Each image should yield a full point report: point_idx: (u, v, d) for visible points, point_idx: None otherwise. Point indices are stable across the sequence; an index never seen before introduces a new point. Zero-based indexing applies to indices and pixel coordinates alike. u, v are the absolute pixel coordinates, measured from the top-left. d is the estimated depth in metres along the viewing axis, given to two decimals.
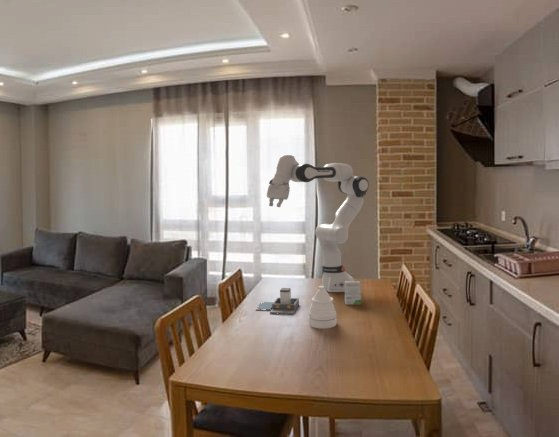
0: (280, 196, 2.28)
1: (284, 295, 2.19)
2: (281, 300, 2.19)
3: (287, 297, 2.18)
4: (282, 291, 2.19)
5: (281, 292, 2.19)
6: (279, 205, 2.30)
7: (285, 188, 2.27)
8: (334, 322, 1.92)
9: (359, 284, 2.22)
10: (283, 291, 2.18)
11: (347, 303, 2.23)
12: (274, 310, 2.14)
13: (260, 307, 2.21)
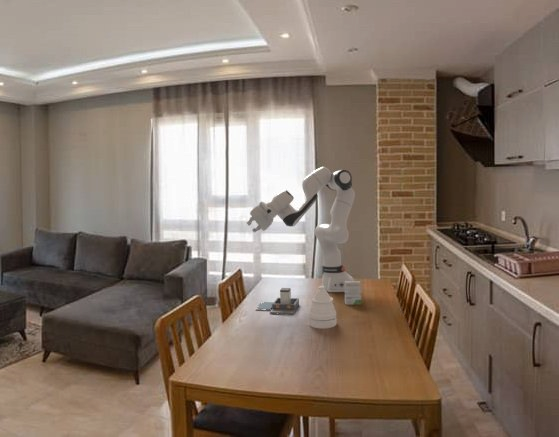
0: (263, 229, 2.43)
1: (284, 295, 2.19)
2: (281, 300, 2.19)
3: (287, 297, 2.18)
4: (282, 291, 2.19)
5: (281, 292, 2.19)
6: None
7: None
8: (334, 322, 1.92)
9: (359, 284, 2.22)
10: (283, 291, 2.18)
11: (347, 303, 2.23)
12: (274, 310, 2.14)
13: (260, 307, 2.21)
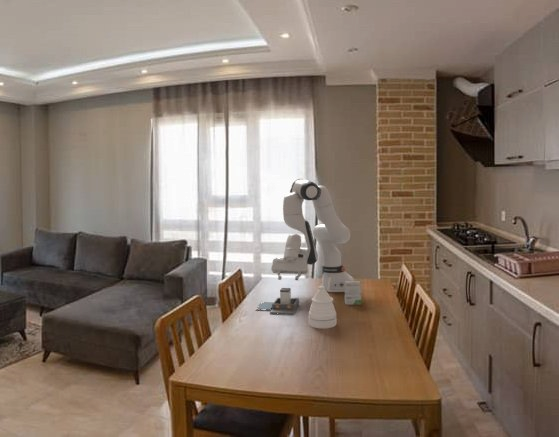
0: None
1: (284, 295, 2.19)
2: (281, 300, 2.19)
3: (287, 297, 2.18)
4: (282, 291, 2.19)
5: (281, 292, 2.19)
6: None
7: None
8: (334, 322, 1.92)
9: (359, 284, 2.22)
10: (283, 291, 2.18)
11: (347, 303, 2.23)
12: (274, 310, 2.14)
13: (260, 307, 2.21)
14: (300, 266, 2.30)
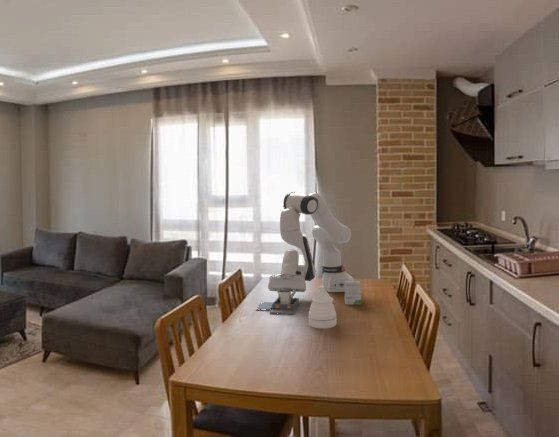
0: None
1: (284, 295, 2.19)
2: (281, 300, 2.19)
3: (287, 297, 2.18)
4: (282, 291, 2.19)
5: (281, 292, 2.19)
6: None
7: None
8: (334, 322, 1.92)
9: (359, 284, 2.22)
10: (283, 291, 2.18)
11: (347, 303, 2.23)
12: (274, 310, 2.14)
13: (260, 307, 2.21)
14: (298, 284, 2.22)
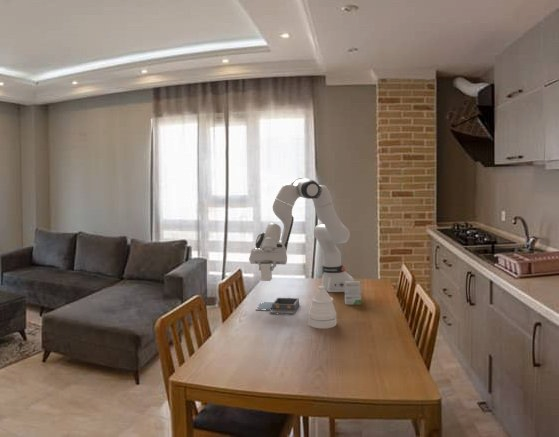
0: None
1: (265, 267, 2.19)
2: (262, 272, 2.19)
3: (267, 269, 2.19)
4: (263, 263, 2.19)
5: (262, 264, 2.19)
6: None
7: None
8: (334, 322, 1.92)
9: (359, 284, 2.22)
10: (264, 263, 2.19)
11: (347, 303, 2.23)
12: (274, 310, 2.14)
13: (260, 307, 2.21)
14: (279, 256, 2.23)
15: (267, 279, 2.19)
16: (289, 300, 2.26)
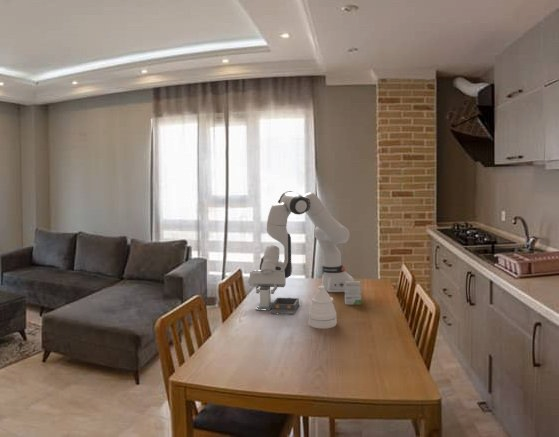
0: None
1: (263, 293, 2.21)
2: (261, 298, 2.22)
3: (266, 295, 2.21)
4: (261, 289, 2.21)
5: (260, 290, 2.21)
6: None
7: None
8: (334, 322, 1.92)
9: (359, 284, 2.22)
10: (262, 289, 2.21)
11: (347, 303, 2.23)
12: (274, 310, 2.14)
13: (260, 307, 2.21)
14: (277, 279, 2.24)
15: (266, 305, 2.21)
16: (289, 300, 2.26)
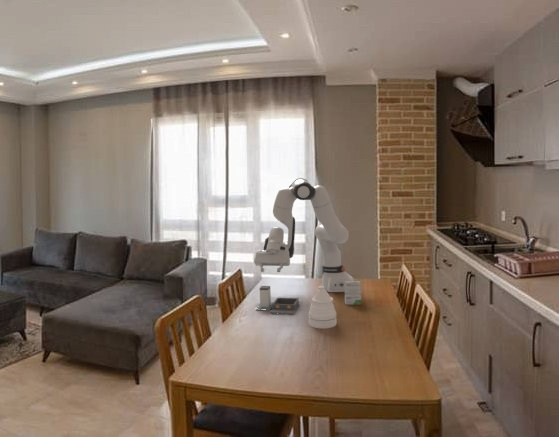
0: None
1: (263, 293, 2.21)
2: (261, 298, 2.22)
3: (266, 295, 2.21)
4: (261, 289, 2.21)
5: (260, 290, 2.21)
6: None
7: None
8: (334, 322, 1.92)
9: (359, 284, 2.22)
10: (262, 289, 2.21)
11: (347, 303, 2.23)
12: (274, 310, 2.14)
13: (260, 307, 2.21)
14: (282, 258, 2.35)
15: (266, 305, 2.21)
16: (289, 300, 2.26)
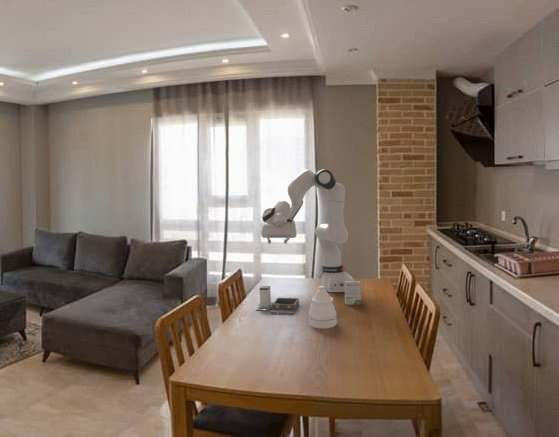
0: None
1: (263, 293, 2.21)
2: (261, 298, 2.22)
3: (266, 295, 2.21)
4: (261, 289, 2.21)
5: (260, 290, 2.21)
6: None
7: None
8: (334, 322, 1.92)
9: (359, 284, 2.22)
10: (262, 289, 2.21)
11: (347, 303, 2.23)
12: (274, 310, 2.14)
13: (260, 307, 2.21)
14: (289, 230, 2.40)
15: (266, 305, 2.21)
16: (289, 300, 2.26)
